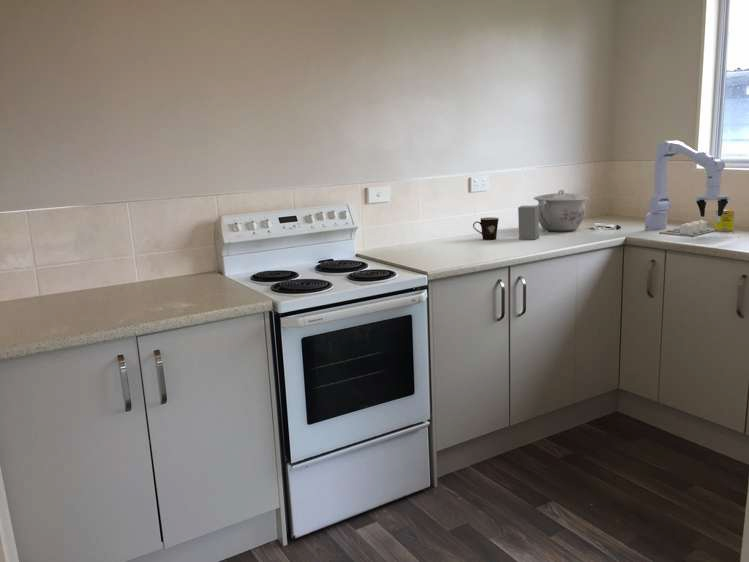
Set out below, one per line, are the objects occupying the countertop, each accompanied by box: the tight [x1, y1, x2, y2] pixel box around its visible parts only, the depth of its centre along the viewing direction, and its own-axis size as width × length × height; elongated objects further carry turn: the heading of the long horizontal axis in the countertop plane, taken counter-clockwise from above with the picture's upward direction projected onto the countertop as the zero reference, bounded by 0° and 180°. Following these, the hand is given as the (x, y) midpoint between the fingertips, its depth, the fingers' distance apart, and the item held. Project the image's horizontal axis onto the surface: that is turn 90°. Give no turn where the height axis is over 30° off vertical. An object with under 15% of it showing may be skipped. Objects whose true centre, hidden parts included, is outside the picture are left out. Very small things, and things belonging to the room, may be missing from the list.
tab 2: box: [696, 219, 708, 231], centre depth 314 cm, size 4×4×5 cm
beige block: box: [689, 220, 700, 233], centre depth 310 cm, size 4×4×5 cm
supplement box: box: [714, 209, 735, 232], centre depth 315 cm, size 6×6×11 cm
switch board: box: [658, 227, 718, 238], centre depth 312 cm, size 16×24×2 cm, turn 130°
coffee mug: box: [472, 216, 500, 241], centre depth 319 cm, size 12×9×10 cm
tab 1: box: [679, 222, 694, 235], centre depth 305 cm, size 4×4×5 cm
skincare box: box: [517, 204, 540, 240], centre depth 315 cm, size 8×7×16 cm
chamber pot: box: [533, 189, 590, 233], centre depth 341 cm, size 28×28×21 cm
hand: (710, 216), depth 303 cm, fingers open, 7 cm apart
